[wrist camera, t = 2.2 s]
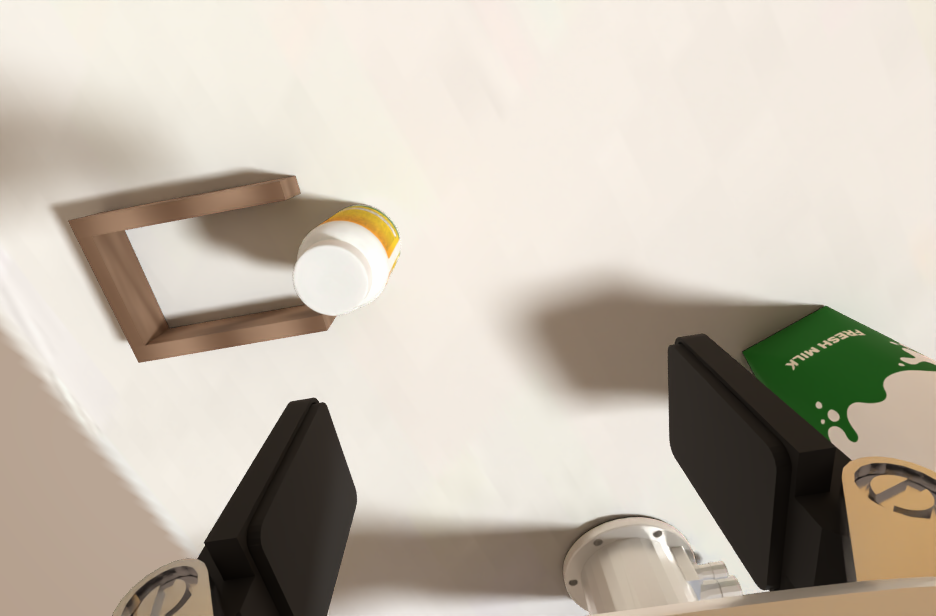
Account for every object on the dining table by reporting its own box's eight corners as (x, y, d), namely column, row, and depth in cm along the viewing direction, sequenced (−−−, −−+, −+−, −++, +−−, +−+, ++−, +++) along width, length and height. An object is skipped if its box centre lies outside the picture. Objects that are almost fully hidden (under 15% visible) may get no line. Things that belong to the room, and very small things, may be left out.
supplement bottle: (402, 277, 35) (382, 330, 26) (329, 274, 34) (284, 327, 26) (401, 204, 33) (379, 234, 24) (324, 201, 32) (273, 230, 24)
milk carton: (832, 289, 36) (1242, 471, 17) (868, 374, 38) (1253, 610, 20) (725, 349, 37) (990, 573, 19) (768, 426, 40) (1034, 687, 21)
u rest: (295, 175, 32) (279, 180, 29) (337, 314, 36) (327, 330, 33) (101, 212, 32) (68, 220, 30) (163, 344, 36) (138, 362, 33)
